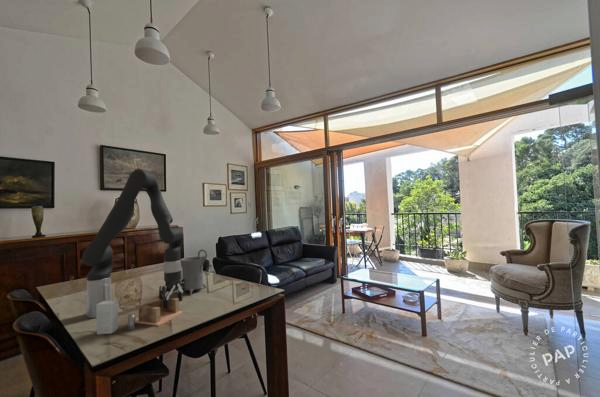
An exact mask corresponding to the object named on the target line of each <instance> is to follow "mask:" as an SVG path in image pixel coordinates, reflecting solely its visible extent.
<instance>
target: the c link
mask: <svg viewBox="0 0 600 397" xmlns="http://www.w3.org/2000/svg"><path fill="white" fill-rule="evenodd" d="M168 299H169V307H168V308H164V307H163V300H160V299H159V298H157V299H154V300H152V301H149V302H148V303H144V304H143V305H140V306H138V317H139V321H145V322H152V323H158V322H160V312H162V311H164V312H173V313H177V312H178V311H180V301H179V299H178V297H169V298H168Z"/></svg>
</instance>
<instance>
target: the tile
mask: <svg viewBox="0 0 600 397" xmlns="http://www.w3.org/2000/svg"><path fill="white" fill-rule="evenodd" d="M183 312H184V311H183V310H179V311H178V312H177V313H173V312H164V311H162V312H160V322H158V323H152V322H145V321H139V316H138V317H135V324H142V325H148V326H157V327H159V326H162V325H163V324H165V323H167V322H169V321H170V320H172V318H173V319H175V318H177V316H180V315H182V314H183Z"/></svg>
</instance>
